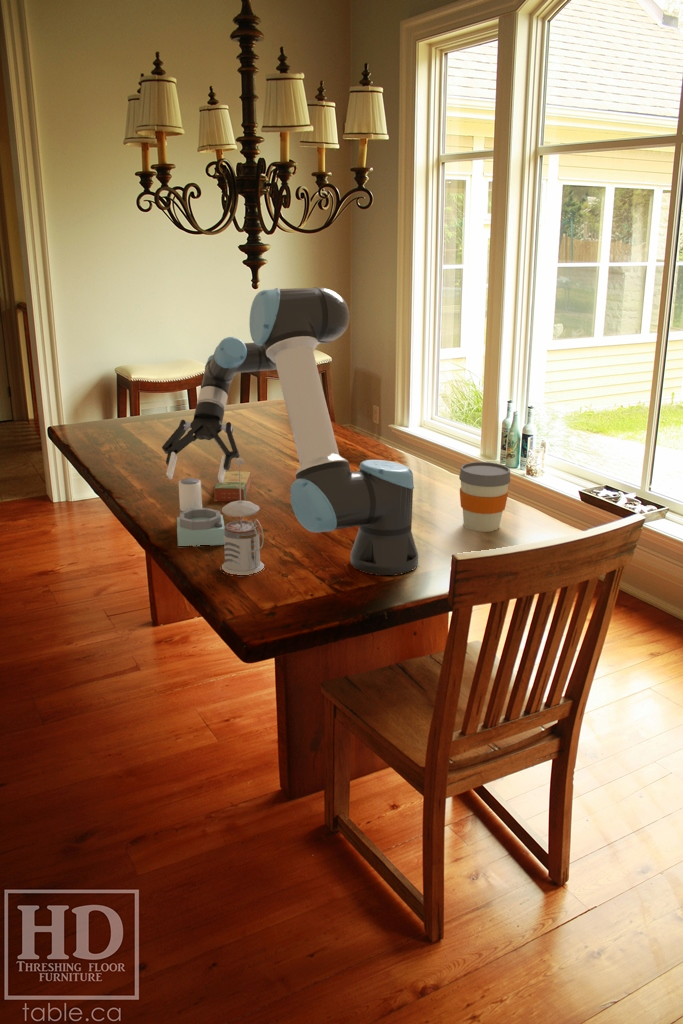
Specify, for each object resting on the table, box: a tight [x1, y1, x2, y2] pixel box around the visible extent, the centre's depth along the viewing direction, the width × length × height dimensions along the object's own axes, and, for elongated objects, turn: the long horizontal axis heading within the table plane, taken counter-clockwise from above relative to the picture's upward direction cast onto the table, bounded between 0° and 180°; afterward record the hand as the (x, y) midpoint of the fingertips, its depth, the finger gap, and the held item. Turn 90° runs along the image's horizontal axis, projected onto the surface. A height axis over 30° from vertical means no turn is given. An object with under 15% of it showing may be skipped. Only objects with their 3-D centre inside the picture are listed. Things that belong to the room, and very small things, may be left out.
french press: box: [221, 457, 265, 576], centre depth 181 cm, size 10×12×25 cm
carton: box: [213, 470, 252, 502], centre depth 236 cm, size 8×16×4 cm, turn 179°
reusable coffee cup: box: [459, 461, 511, 533], centre depth 210 cm, size 13×13×15 cm
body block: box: [176, 507, 226, 547], centre depth 201 cm, size 10×11×6 cm
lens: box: [178, 477, 204, 514], centre depth 210 cm, size 6×6×11 cm
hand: (194, 478), depth 214 cm, fingers open, 13 cm apart
